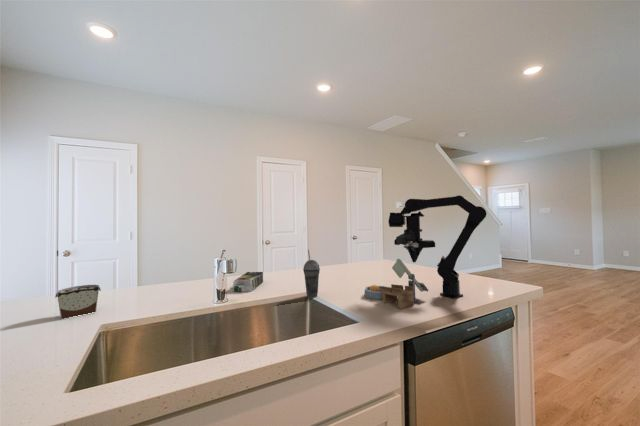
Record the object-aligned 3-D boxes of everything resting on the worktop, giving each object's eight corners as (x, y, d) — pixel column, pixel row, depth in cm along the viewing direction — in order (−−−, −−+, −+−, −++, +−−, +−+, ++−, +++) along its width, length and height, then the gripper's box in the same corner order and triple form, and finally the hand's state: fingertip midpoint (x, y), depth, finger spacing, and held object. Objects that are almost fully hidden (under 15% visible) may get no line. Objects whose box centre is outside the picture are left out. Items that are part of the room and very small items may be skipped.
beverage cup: (318, 299, 109) (317, 250, 110) (301, 298, 111) (300, 250, 111) (322, 294, 116) (321, 248, 117) (306, 293, 118) (305, 248, 118)
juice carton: (252, 292, 122) (252, 279, 122) (231, 293, 123) (231, 279, 123) (264, 282, 142) (263, 271, 142) (246, 283, 143) (245, 271, 143)
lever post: (412, 298, 107) (411, 279, 107) (419, 301, 103) (419, 281, 103) (404, 300, 105) (404, 280, 105) (412, 303, 101) (411, 282, 101)
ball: (382, 290, 111) (378, 294, 113) (377, 281, 113) (373, 286, 116) (375, 293, 109) (371, 297, 112) (369, 284, 111) (366, 288, 114)
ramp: (392, 298, 108) (392, 280, 108) (414, 305, 98) (413, 286, 98) (380, 300, 105) (379, 282, 105) (400, 308, 95) (400, 289, 95)
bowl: (379, 291, 119) (379, 284, 119) (396, 297, 109) (396, 289, 109) (360, 294, 114) (360, 287, 114) (376, 301, 104) (376, 293, 104)
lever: (413, 298, 107) (420, 287, 109) (421, 301, 103) (428, 290, 105) (388, 267, 101) (396, 256, 103) (396, 268, 98) (403, 257, 100)
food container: (99, 308, 105) (99, 282, 105) (100, 311, 100) (100, 285, 100) (55, 316, 96) (55, 289, 96) (55, 321, 91) (54, 292, 92)
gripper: (384, 227, 122) (385, 261, 122) (416, 228, 105) (417, 267, 105) (402, 226, 127) (403, 259, 127) (435, 227, 110) (436, 264, 110)
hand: (414, 262), depth 117 cm, fingers closed
